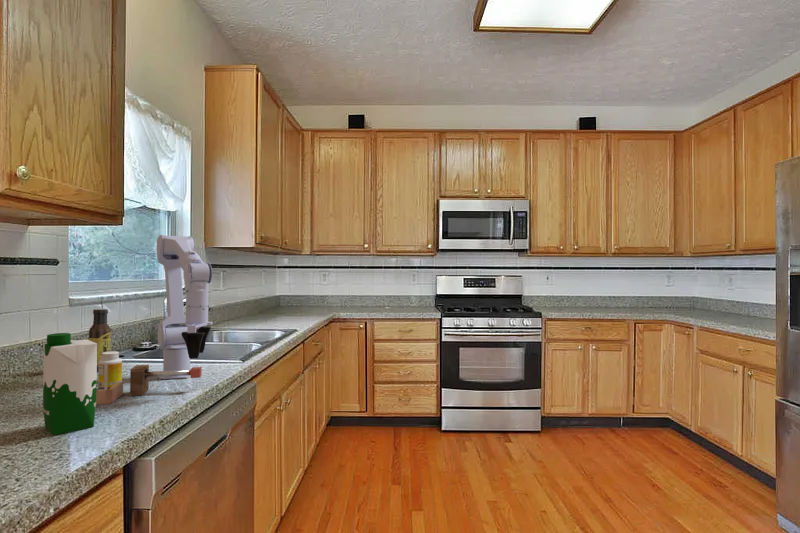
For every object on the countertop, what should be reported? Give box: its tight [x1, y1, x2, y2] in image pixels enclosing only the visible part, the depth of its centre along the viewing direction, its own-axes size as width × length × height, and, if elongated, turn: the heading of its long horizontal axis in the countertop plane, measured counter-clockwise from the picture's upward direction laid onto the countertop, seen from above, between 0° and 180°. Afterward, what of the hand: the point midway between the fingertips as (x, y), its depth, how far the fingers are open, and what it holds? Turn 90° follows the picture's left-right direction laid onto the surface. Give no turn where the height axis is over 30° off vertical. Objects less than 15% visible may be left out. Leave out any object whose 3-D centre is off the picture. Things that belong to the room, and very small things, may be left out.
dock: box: [96, 381, 124, 405], centre depth 117 cm, size 9×10×3 cm
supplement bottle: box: [97, 350, 123, 390], centre depth 127 cm, size 6×6×10 cm
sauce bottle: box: [87, 308, 112, 372], centre depth 149 cm, size 6×6×20 cm
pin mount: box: [129, 364, 150, 397], centre depth 124 cm, size 5×3×7 cm, turn 13°
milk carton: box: [42, 332, 98, 436], centre depth 97 cm, size 9×9×20 cm
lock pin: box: [145, 366, 203, 379], centre depth 125 cm, size 2×16×2 cm, turn 104°
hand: (196, 355), depth 127 cm, fingers open, 7 cm apart
